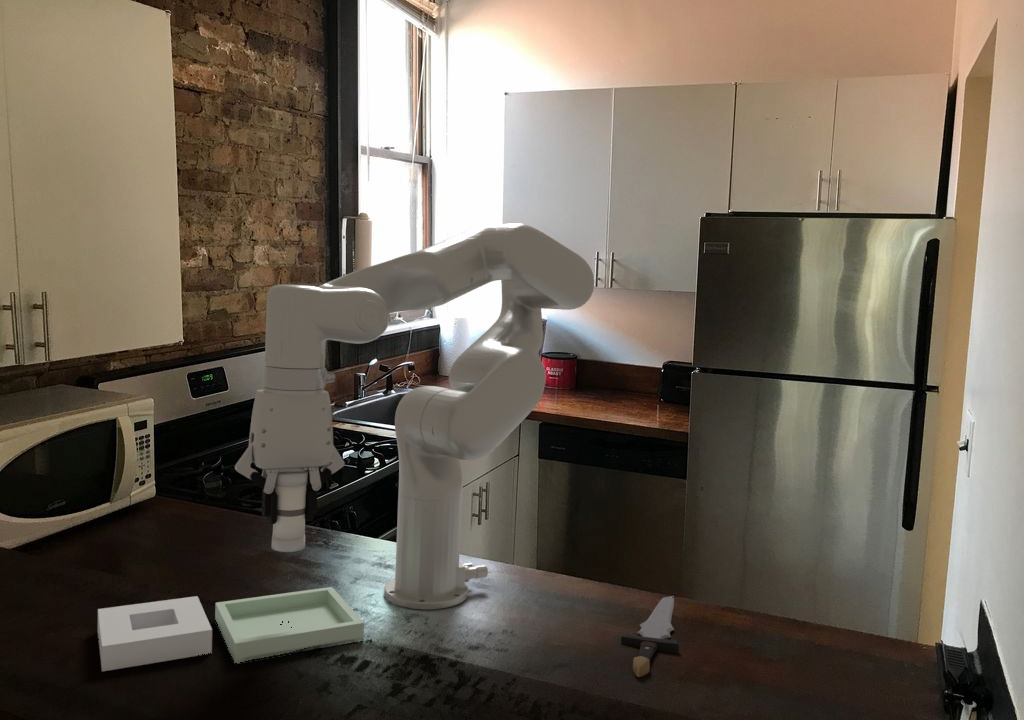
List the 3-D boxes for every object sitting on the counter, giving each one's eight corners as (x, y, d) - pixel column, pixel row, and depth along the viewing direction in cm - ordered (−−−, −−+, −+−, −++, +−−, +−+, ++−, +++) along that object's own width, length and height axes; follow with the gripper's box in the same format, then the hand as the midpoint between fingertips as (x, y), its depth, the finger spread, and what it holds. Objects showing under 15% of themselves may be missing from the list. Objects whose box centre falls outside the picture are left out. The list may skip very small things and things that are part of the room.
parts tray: (331, 603, 116) (332, 586, 115) (363, 641, 103) (364, 622, 103) (215, 620, 108) (215, 602, 108) (234, 663, 96) (235, 643, 95)
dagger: (616, 679, 97) (617, 663, 97) (626, 589, 129) (627, 576, 128) (680, 687, 96) (681, 671, 96) (674, 594, 127) (675, 581, 127)
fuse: (300, 540, 107) (302, 467, 107) (308, 550, 104) (311, 474, 103) (268, 543, 105) (270, 469, 105) (275, 553, 102) (278, 476, 101)
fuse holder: (197, 617, 108) (197, 596, 108) (211, 653, 98) (212, 629, 98) (97, 631, 103) (97, 609, 102) (101, 671, 92) (102, 646, 92)
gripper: (348, 378, 111) (342, 508, 112) (221, 377, 102) (216, 518, 103) (366, 384, 104) (360, 522, 105) (232, 383, 96) (227, 533, 97)
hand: (289, 518), depth 104 cm, fingers closed on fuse, 4 cm apart
